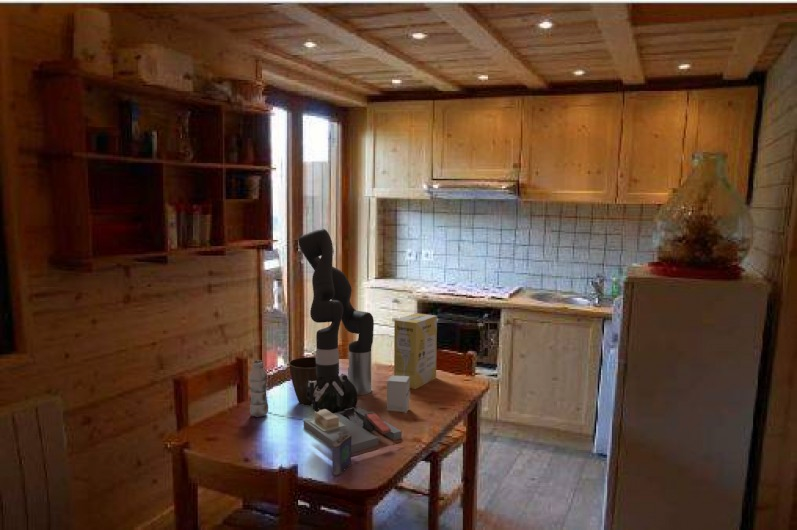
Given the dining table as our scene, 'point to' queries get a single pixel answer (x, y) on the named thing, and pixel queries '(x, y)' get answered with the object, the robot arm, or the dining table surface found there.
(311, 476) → the dining table surface
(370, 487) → the dining table surface
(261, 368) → the plastic bottle
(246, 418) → the dining table surface
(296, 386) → the plant pot
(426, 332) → the pasta box
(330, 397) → the squash
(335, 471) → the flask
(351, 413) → the tip lever
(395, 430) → the pocket board
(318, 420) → the slab
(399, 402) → the supplement box
